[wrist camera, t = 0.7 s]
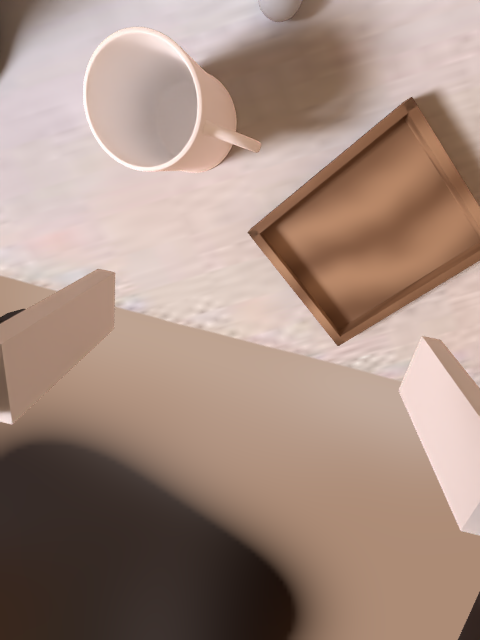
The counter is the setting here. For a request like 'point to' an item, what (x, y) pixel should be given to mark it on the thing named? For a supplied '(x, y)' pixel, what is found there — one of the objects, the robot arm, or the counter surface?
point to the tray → (374, 226)
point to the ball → (279, 9)
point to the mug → (158, 105)
